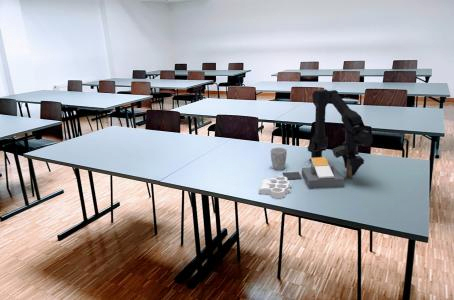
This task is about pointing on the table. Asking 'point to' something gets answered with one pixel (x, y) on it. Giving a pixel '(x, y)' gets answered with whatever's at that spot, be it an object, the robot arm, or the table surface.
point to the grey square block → (314, 182)
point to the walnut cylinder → (348, 171)
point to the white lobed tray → (275, 187)
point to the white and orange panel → (322, 167)
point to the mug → (278, 158)
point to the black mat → (292, 175)
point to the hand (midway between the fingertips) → (349, 171)
